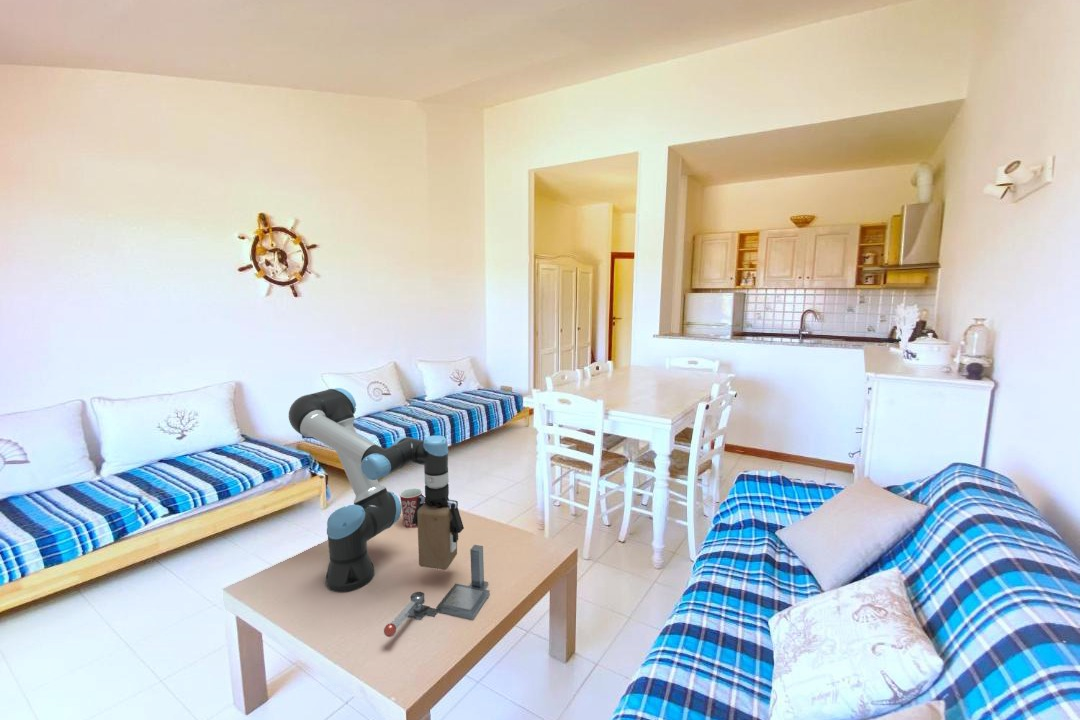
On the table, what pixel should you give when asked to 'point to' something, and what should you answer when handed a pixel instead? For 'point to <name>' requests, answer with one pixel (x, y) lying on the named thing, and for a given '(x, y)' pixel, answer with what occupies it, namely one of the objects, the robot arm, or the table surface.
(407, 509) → the mug
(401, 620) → the lever
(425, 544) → the wooden block
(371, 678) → the table surface
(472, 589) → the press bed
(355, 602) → the table surface
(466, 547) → the table surface
